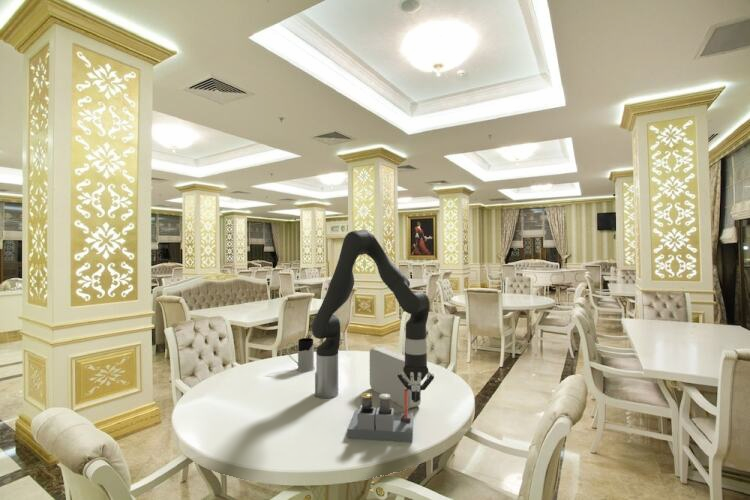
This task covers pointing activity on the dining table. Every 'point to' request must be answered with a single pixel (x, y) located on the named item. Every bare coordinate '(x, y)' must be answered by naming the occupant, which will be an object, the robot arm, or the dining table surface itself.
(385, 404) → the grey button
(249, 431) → the dining table surface
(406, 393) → the red lever
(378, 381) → the rounded white slab
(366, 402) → the brass button
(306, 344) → the grey mug
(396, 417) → the console
